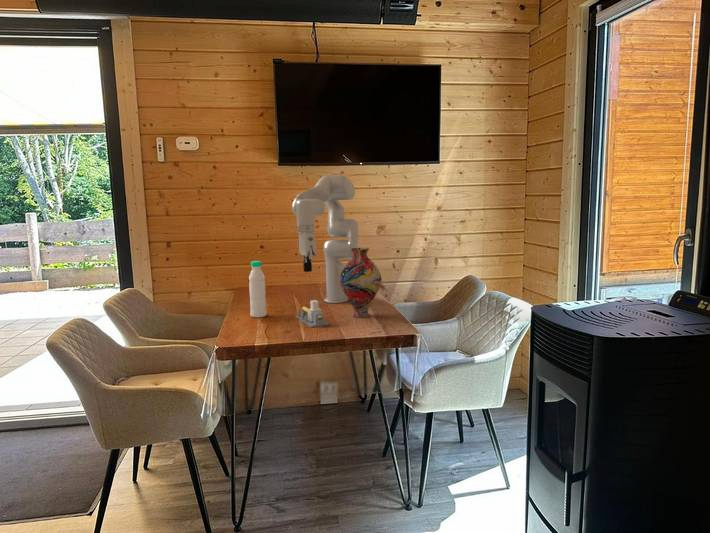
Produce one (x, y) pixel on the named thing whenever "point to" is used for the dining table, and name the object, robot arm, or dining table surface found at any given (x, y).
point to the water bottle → (257, 290)
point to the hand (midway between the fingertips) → (307, 271)
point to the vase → (360, 281)
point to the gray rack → (316, 318)
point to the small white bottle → (313, 309)
